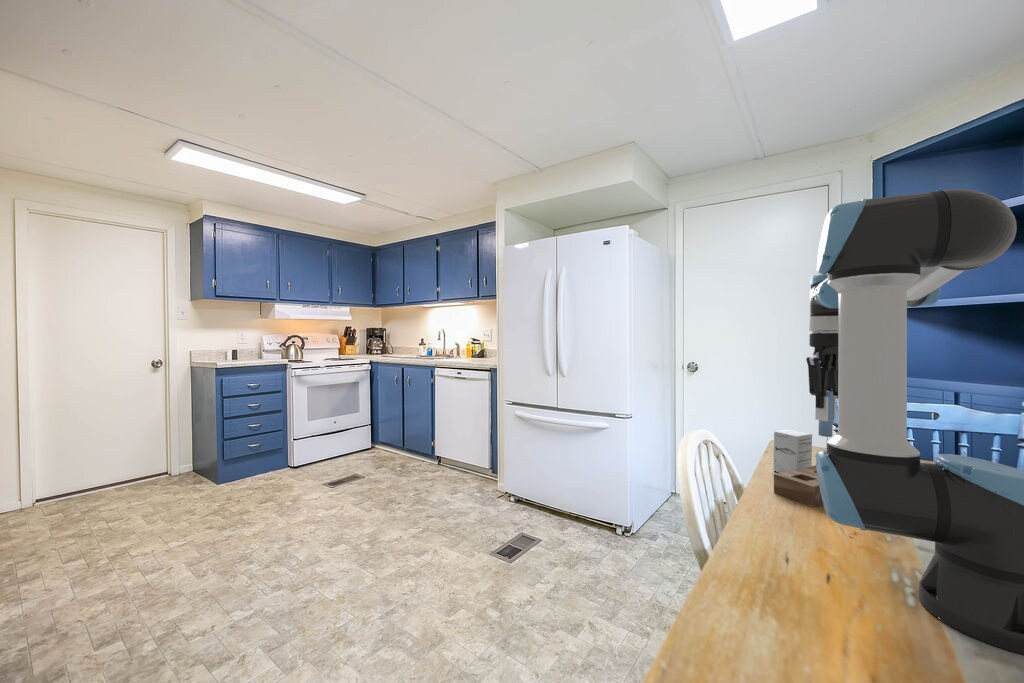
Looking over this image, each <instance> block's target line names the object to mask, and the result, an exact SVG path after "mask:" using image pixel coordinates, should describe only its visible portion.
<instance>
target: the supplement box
mask: <svg viewBox="0 0 1024 683" xmlns="http://www.w3.org/2000/svg"><path fill="white" fill-rule="evenodd" d="M812 447H813V434H812V433H807V432H803V431H799V430H794V429H789V428H787V429H780V430H774V432H773V469H772V470H773V472H774V471H776V472H775V473H781V472H786V471H791V470H796V469H801V468H806V467H811V466H813V465H812V464H813V463H812V461H813V460H812V458H813V457H812V455H813V453H812V452H813V448H812Z"/></svg>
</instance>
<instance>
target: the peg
mask: <svg viewBox="0 0 1024 683" xmlns="http://www.w3.org/2000/svg"><path fill="white" fill-rule="evenodd" d="M826 396H827V397H828V421H821V420H818V436H821V437H827V438H831V437H833V433H834V432H833V425H834V424H833V422H834V420H833V391H826Z"/></svg>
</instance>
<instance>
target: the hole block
mask: <svg viewBox="0 0 1024 683" xmlns="http://www.w3.org/2000/svg"><path fill="white" fill-rule="evenodd" d="M774 492H775V493H774ZM773 493H774V494H777V495H779V496H783V497H785V498H788V499H791V500H794V501H796V502H800V503H802V504H805V505H808V506H811V507H813V508H814V507H817V506H821V505H823V501H822V497H821V492H820V487H819V482H818V476H817V468H816V465H811V467H806V468H801V469H796V470H791V471H786V472H781V473H779V472H775V473H773Z"/></svg>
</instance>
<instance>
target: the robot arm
mask: <svg viewBox="0 0 1024 683" xmlns="http://www.w3.org/2000/svg"><path fill="white" fill-rule="evenodd" d="M1017 228H1018V227H1017V219H1016V216H1015V215H1014V214H1013V211H1012V210H1011V208H1010V207H1009V206H1008V205H1007V204H1006V203H1004V202H1003V201H1002V200H1001V199H999V198H998V197H996V196H992V195H990V194H988V193H985V192H982V191H978V190H974V189H969V188H968V189H967V188H966V189H962V188H949V189H942V190H937V191H930V192H922V193H919V192H918V193H911V194H903V195H902V194H901V195H892V196H883V197H876V198H863V199H861V200H857V201H851V202H846V203H840V204H837V205H835V206H833V207H832V208H831V209H830V210H829V211H828V213H827V215H826V217H825V220H824V224H823V226H822V231H821V236H820V240H819V245H818V251H817V258H816V272H817V273H818V274H815V275H813V276H812V277H811V278H810V284H809V311H810V312H809V329H808V330H809V331H810V332H811V333H810V334H809V339H808V340H809V344H808V345H809V346H810V347H812V348H814V349H813V350H814V351H813V354H812V355H813V356H807V357H806V359H805V360H806V363H807V368H808V369H807V370H808V371H807V372H808V386H809V389H808V390H809V391H808V392H809V393H810V395H811V396H815V420H816V421H819V420H821V421H828V397H827V396H826V391H833V421H836V420H837V432H836V434H834V435H832V437H829V438H828V439H827V440H826V451H825V450H819V451H817V452H816V453H815V466H816V468H817V476H818V482H819V487H820V492H821V497H822V501H823V504H822V505H823V507H824V510H825V513H826V515H827V516H828V517H829V519H830V520H831V521H833V522H834V523H836V524H839V525H843V526H847V527H851V528H855V529H860V530H861V531H866V530H867V531H870V532H877V533H883V534H889V535H895V536H900V537H905V538H911V539H916V540H922V541H927V542H928V541H929V542H934V554H933V556H932V558H931V560H930V561H929V563H928V565H927V567H926V569H925V571H924V572H923V574H922V576H921V578H920V580H919V583H918V600H919V602H920V605H922V606H923V607H924V608H925V609H926V611H928V612H929V611H930V612H931V613H932V614H931V613H930V612H929V613H930V614H931V615H933V614H934V615H935V616H937V617H939V618H940V619H941V620H942V622H943V621H944V622H945V623H944V622H943V623H944V624H946V625H947V626H949V627H951V628H953V629H954V630H957V631H959V632H961V633H963V634H965V635H967V636H969V637H972V638H974V639H976V640H978V641H982V642H984V643H986V644H989V645H992V646H995V647H998V648H1000V649H1004V650H1007V651H1010V652H1015V653H1018V654H1022V655H1024V470H1022V469H1019V468H1015V467H1012V466H1010V465H1005V464H1002V463H1000V462H999V463H998V462H994V461H991V460H986V459H980V458H977V457H973V456H967V455H959V454H953V453H952V454H949V453H941V454H937V456H936V458H934V463H928V462H921V452H920V450H919V449H917V448H916V447H915V446H914V445H913V444H911V443H910V442H909V440H908V438H907V437H908V423H907V422H908V400H907V399H908V392H907V391H908V385H907V384H908V354H907V352H908V349H907V348H908V347H907V346H908V342H907V341H908V319H907V318H908V315H907V314H908V307H911V308H917V307H925V306H932V305H935V304H936V303H937V302H938V300H939V298H940V295H941V291H942V290H941V289H942V287H943V285H945V284H946V283H948V282H950V281H951V280H952V279H954V278H956V277H957V276H959V275H960V274H962V273H964V272H965V271H966V272H967V271H972V270H976V269H979V268H980V269H981V267H984V266H986V265H988V264H990V263H992V262H993V261H995V260H997V258H999V257H1000V256H1002V255H1003V254H1004V253H1005V252H1006V251H1007V250H1008V249H1009V248H1010V247H1011V245H1012V243H1013V242H1014V241H1015V238H1016V234H1017ZM837 399H838V400H837ZM837 416H838V417H837ZM934 615H933V616H934ZM935 616H934V617H935ZM937 617H936V618H937ZM940 619H939V620H940ZM941 620H940V621H941Z"/></svg>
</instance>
